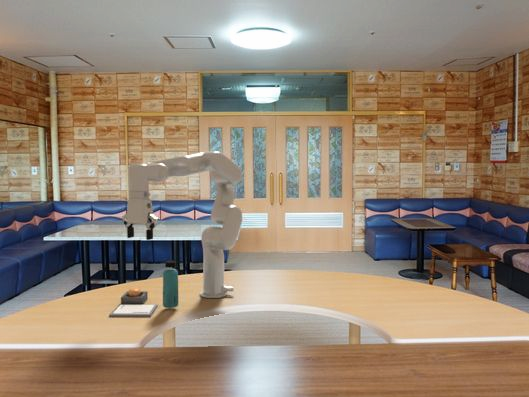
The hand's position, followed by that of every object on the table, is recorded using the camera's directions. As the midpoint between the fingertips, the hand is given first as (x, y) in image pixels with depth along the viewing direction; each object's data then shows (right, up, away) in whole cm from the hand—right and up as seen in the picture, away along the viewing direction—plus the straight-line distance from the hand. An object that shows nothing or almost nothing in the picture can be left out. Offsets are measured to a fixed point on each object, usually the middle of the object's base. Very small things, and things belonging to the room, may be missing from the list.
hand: (140, 238), depth 171 cm
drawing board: (-3, -30, +4) cm, 30 cm away
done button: (-7, -26, +15) cm, 31 cm away
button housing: (-7, -29, +15) cm, 34 cm away
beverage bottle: (+10, -30, +7) cm, 33 cm away
